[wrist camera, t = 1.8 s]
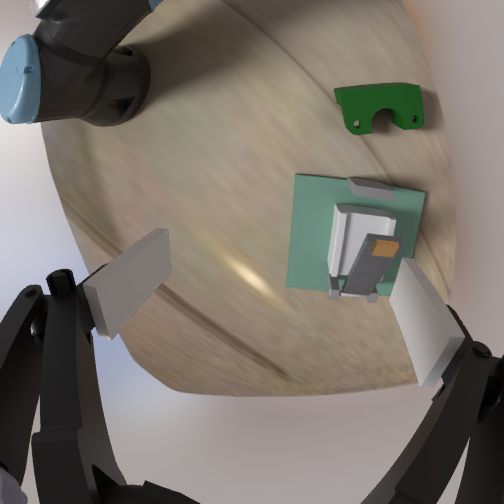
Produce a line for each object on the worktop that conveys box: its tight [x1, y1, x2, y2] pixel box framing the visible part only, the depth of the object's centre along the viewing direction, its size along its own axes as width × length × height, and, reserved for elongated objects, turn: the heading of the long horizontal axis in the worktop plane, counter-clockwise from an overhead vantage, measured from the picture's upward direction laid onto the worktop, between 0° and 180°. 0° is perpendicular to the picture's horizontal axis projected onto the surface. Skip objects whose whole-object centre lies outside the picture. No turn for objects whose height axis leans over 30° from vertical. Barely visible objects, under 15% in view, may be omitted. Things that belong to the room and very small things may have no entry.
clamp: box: [334, 83, 424, 135], centre depth 29 cm, size 12×6×9 cm, turn 97°
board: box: [286, 174, 425, 303], centre depth 37 cm, size 18×20×8 cm
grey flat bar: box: [342, 233, 404, 295], centre depth 30 cm, size 14×4×2 cm
